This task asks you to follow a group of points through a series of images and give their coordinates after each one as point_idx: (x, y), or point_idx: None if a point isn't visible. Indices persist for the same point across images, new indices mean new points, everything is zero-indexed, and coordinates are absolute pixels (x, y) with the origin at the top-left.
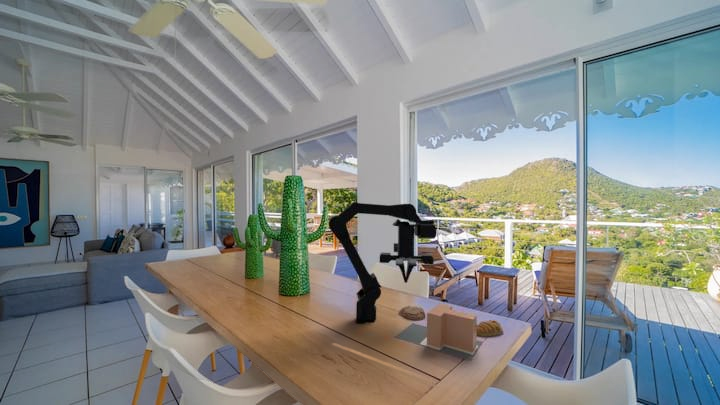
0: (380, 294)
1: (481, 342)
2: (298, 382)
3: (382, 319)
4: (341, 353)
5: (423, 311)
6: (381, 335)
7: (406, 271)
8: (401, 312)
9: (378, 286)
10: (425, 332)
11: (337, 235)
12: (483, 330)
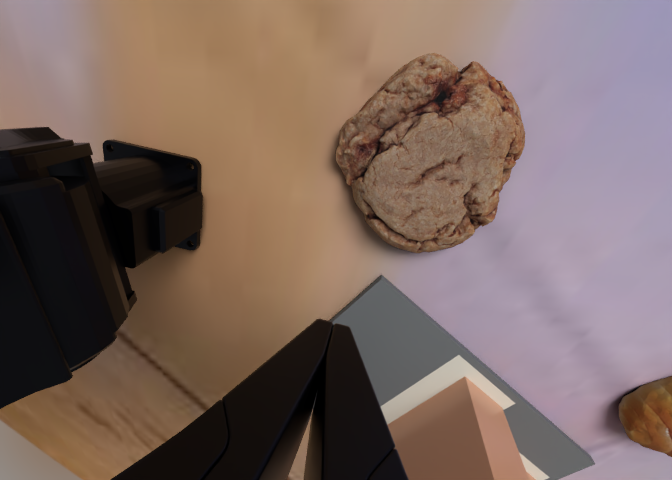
0: (121, 323)
1: (584, 465)
2: (74, 472)
3: (241, 193)
4: (123, 409)
5: (508, 168)
6: (230, 341)
7: (319, 465)
8: (352, 159)
9: (41, 380)
10: (403, 368)
11: None
12: (667, 452)
